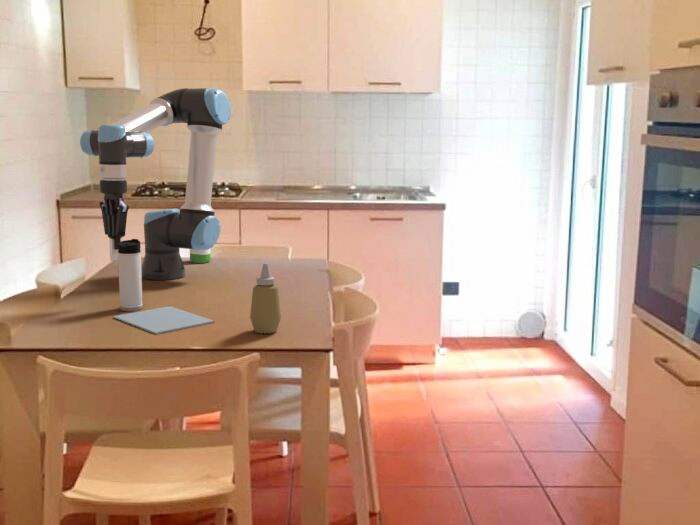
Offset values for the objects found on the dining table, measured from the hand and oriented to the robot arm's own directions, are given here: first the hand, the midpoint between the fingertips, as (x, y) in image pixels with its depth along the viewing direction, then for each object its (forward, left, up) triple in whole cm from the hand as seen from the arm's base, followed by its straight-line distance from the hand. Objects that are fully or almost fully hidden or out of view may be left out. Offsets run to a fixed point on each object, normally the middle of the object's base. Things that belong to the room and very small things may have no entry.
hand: (115, 260), depth 232 cm
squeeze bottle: (+52, +14, -14) cm, 56 cm away
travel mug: (+8, 0, -14) cm, 16 cm away
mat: (+25, 0, -13) cm, 28 cm away
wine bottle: (-41, +57, -14) cm, 72 cm away
